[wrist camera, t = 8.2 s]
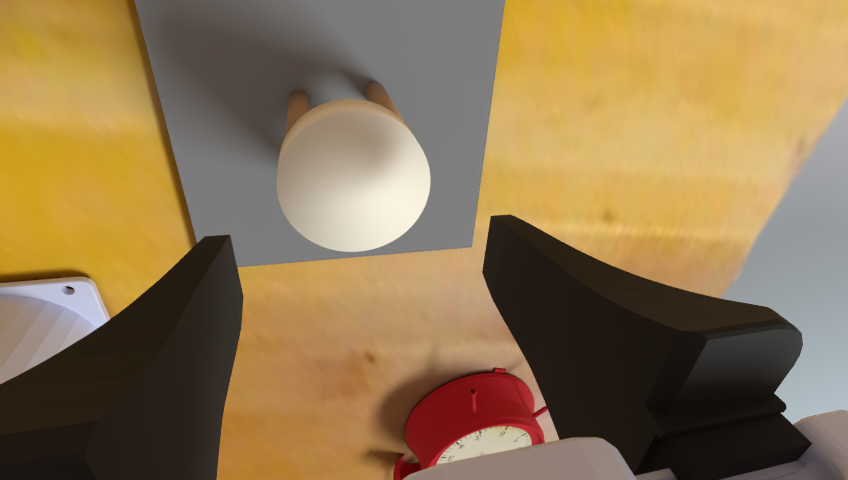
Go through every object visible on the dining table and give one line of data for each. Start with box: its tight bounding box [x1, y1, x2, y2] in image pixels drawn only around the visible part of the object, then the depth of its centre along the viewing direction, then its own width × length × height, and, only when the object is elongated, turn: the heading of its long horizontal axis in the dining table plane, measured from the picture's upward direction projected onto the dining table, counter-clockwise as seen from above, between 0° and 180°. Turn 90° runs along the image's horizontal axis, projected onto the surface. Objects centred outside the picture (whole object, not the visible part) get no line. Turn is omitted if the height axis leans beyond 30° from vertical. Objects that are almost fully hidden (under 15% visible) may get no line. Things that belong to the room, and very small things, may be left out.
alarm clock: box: [393, 368, 548, 480], centre depth 34 cm, size 10×6×15 cm
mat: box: [134, 0, 505, 267], centre depth 20 cm, size 14×13×1 cm
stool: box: [277, 82, 430, 252], centre depth 17 cm, size 5×5×6 cm
